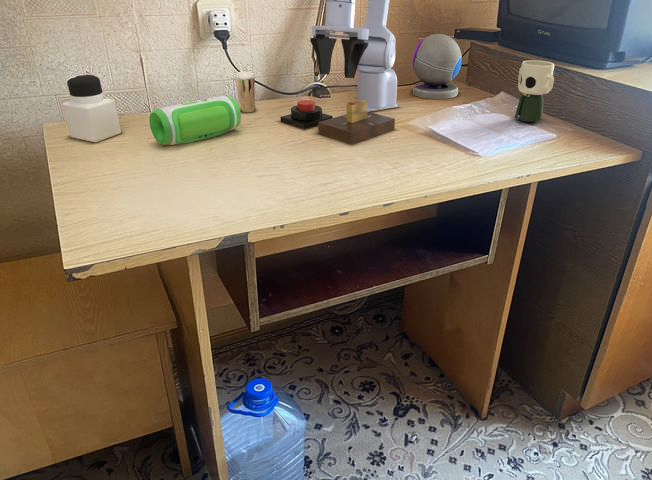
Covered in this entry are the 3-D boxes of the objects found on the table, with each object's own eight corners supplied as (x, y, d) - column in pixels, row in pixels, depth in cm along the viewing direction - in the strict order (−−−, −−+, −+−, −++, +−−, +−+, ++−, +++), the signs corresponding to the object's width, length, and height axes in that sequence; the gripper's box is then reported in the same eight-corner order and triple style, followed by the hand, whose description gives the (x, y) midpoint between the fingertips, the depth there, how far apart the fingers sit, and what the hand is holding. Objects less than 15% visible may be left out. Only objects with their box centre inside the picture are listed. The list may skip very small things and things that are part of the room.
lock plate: (361, 120, 127) (361, 108, 126) (394, 129, 122) (395, 117, 120) (318, 133, 119) (317, 121, 117) (351, 144, 113) (352, 131, 112)
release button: (306, 106, 127) (306, 98, 126) (318, 110, 125) (318, 102, 124) (294, 109, 124) (293, 102, 123) (306, 113, 122) (305, 105, 121)
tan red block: (361, 117, 121) (362, 98, 119) (367, 118, 120) (367, 100, 118) (346, 121, 118) (346, 102, 116) (351, 123, 117) (352, 104, 115)
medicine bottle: (122, 133, 116) (109, 74, 110) (95, 143, 111) (80, 82, 104) (97, 128, 119) (83, 71, 112) (70, 137, 113) (54, 78, 107)
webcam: (419, 85, 157) (423, 29, 150) (463, 90, 153) (469, 32, 145) (404, 95, 147) (408, 35, 139) (450, 101, 143) (457, 40, 135)
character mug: (501, 116, 133) (510, 59, 126) (524, 112, 135) (533, 57, 128) (531, 128, 124) (543, 69, 117) (555, 125, 127) (567, 66, 120)
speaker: (225, 125, 122) (221, 91, 118) (244, 133, 118) (241, 97, 114) (151, 142, 112) (144, 105, 108) (169, 151, 107) (162, 113, 103)
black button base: (309, 114, 131) (308, 101, 129) (332, 121, 126) (332, 108, 125) (280, 121, 125) (279, 108, 124) (304, 129, 121) (303, 116, 119)
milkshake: (260, 107, 135) (257, 65, 130) (254, 113, 130) (251, 70, 125) (242, 106, 135) (238, 64, 130) (236, 113, 131) (231, 69, 125)
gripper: (301, 0, 109) (299, 72, 114) (351, 0, 100) (347, 79, 105) (327, 3, 114) (324, 73, 119) (378, 4, 104) (372, 79, 110)
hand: (336, 76), depth 112 cm, fingers open, 7 cm apart
